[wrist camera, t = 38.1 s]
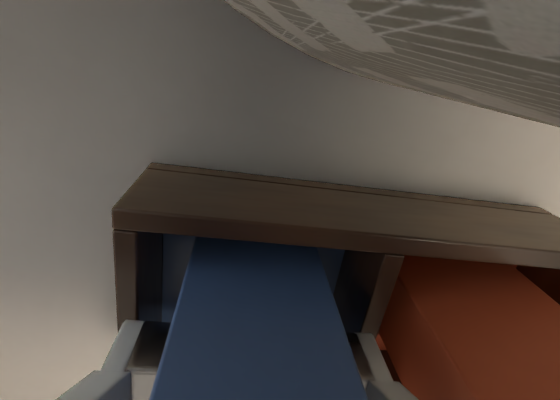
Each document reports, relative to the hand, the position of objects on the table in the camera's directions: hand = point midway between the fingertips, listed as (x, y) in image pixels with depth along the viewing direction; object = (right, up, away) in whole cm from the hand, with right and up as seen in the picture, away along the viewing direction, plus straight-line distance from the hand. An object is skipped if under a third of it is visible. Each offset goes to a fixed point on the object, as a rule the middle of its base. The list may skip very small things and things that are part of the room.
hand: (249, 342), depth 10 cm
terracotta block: (+7, 0, +4) cm, 8 cm away
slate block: (0, +1, +2) cm, 3 cm away
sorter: (+3, +1, +4) cm, 5 cm away
